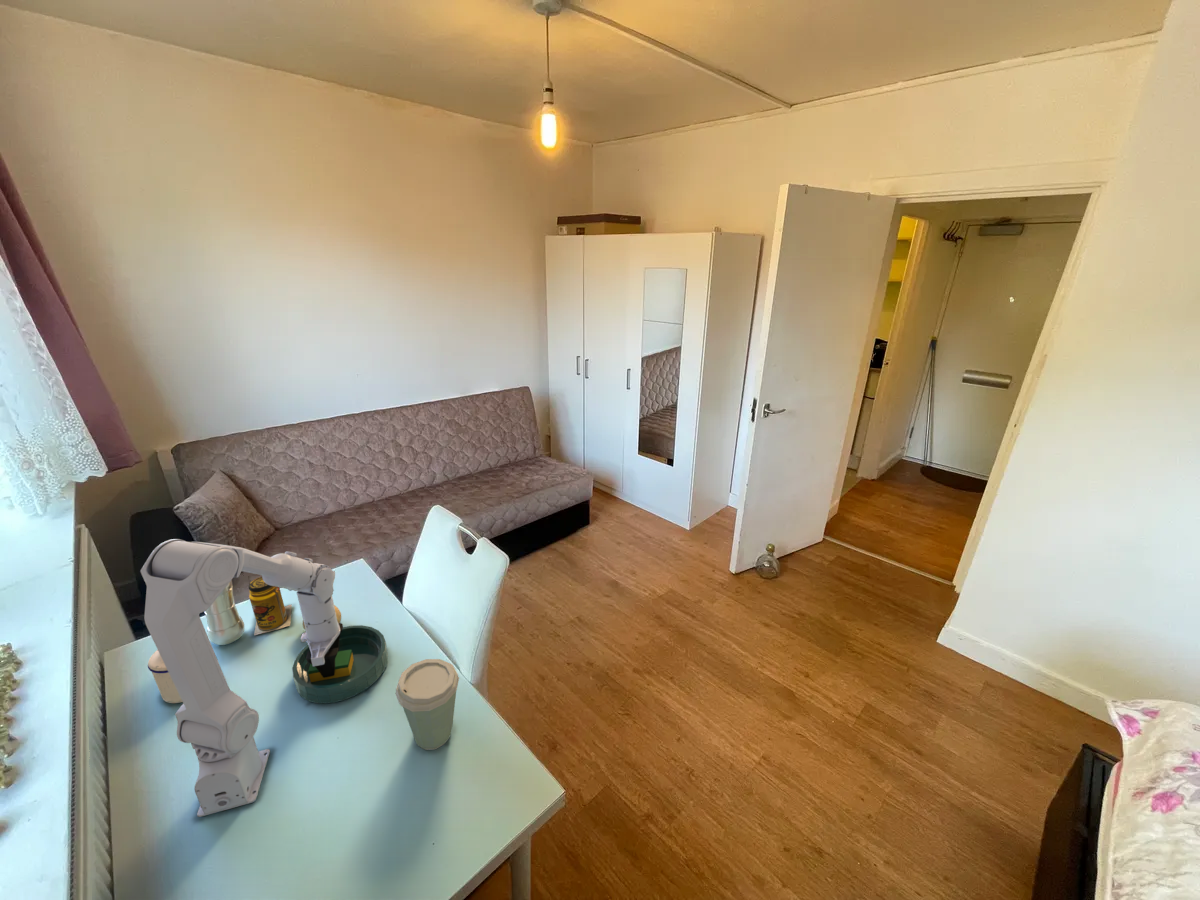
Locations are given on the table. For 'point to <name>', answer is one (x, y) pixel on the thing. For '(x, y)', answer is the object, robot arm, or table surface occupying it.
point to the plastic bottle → (224, 619)
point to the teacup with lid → (163, 679)
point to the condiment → (268, 607)
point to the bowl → (364, 671)
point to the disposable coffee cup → (429, 700)
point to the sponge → (341, 667)
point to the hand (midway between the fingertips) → (331, 666)
